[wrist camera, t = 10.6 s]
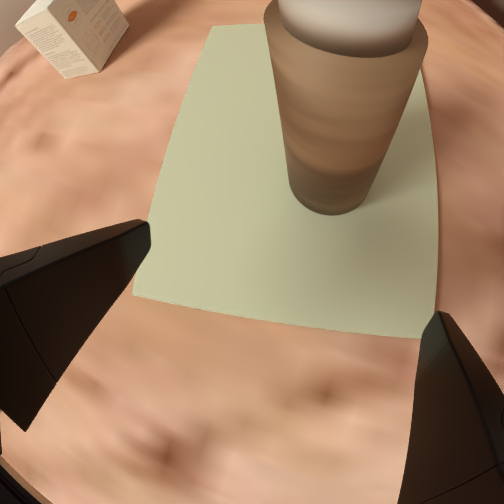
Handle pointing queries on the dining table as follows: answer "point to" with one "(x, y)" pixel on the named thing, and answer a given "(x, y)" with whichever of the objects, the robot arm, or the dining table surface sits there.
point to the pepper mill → (341, 91)
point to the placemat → (286, 212)
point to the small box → (74, 33)
